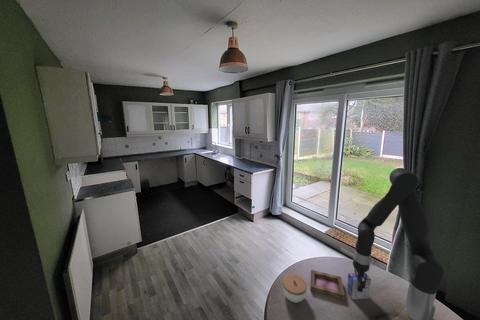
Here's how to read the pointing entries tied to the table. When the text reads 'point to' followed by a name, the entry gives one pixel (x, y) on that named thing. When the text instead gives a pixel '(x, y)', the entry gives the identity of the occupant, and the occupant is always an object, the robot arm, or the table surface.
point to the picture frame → (327, 285)
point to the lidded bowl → (294, 287)
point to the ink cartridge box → (353, 287)
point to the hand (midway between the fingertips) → (357, 284)
